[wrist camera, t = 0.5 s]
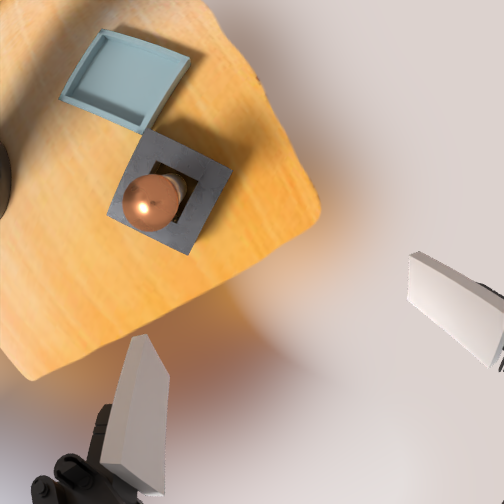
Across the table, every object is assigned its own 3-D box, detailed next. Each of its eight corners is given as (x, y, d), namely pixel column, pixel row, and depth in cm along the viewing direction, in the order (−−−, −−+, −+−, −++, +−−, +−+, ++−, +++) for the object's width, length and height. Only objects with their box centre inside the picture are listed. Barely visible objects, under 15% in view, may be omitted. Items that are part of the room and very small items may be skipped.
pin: (147, 197, 33) (114, 217, 20) (163, 164, 32) (136, 165, 19) (178, 213, 34) (162, 241, 22) (195, 180, 33) (186, 190, 21)
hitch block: (116, 209, 32) (106, 215, 29) (153, 131, 30) (146, 127, 26) (190, 245, 35) (188, 255, 32) (230, 169, 33) (233, 170, 29)
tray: (66, 102, 26) (58, 99, 24) (107, 35, 24) (101, 28, 22) (146, 137, 30) (141, 135, 28) (191, 64, 28) (189, 57, 26)
